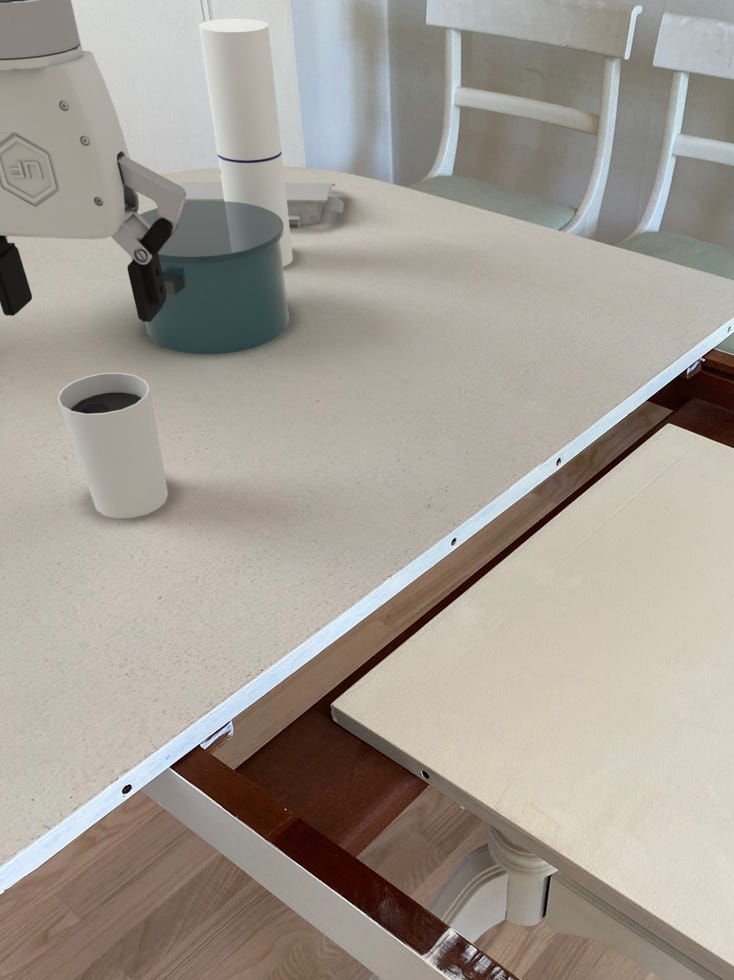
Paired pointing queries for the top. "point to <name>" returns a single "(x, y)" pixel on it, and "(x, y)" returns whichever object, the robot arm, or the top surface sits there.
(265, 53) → the cylindrical container
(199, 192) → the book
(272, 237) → the pot
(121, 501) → the white cup
